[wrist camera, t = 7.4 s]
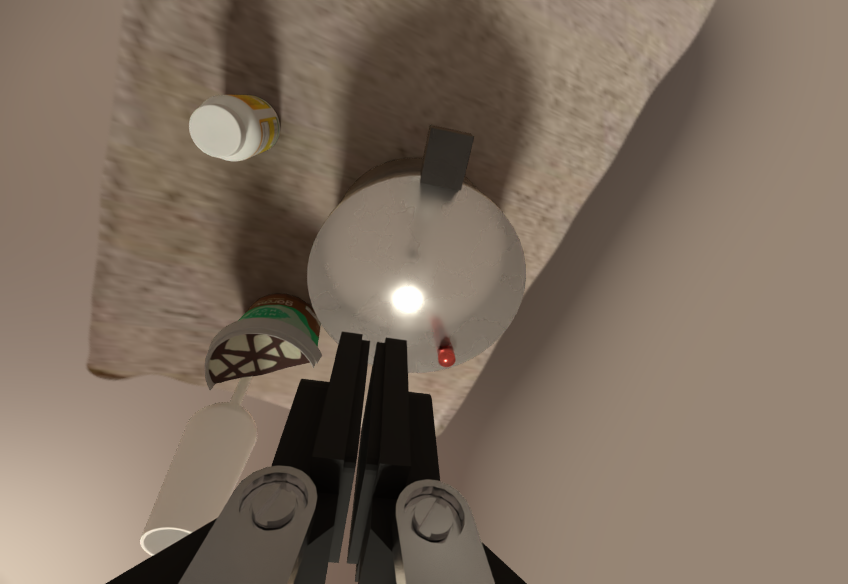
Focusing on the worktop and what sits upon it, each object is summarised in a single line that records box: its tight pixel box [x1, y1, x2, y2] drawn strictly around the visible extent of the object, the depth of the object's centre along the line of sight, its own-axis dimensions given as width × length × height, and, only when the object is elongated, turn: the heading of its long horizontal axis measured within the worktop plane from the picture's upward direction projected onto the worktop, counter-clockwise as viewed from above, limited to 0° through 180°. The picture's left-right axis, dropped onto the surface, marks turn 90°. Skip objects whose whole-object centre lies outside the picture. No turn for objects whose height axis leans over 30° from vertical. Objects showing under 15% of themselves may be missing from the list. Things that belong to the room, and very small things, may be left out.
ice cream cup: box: [205, 294, 322, 390], centre depth 46 cm, size 12×6×10 cm, turn 103°
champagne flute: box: [140, 376, 257, 556], centre depth 43 cm, size 7×7×24 cm
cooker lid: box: [307, 125, 526, 373], centre depth 36 cm, size 22×19×2 cm
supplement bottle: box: [189, 95, 280, 161], centre depth 37 cm, size 5×5×10 cm
